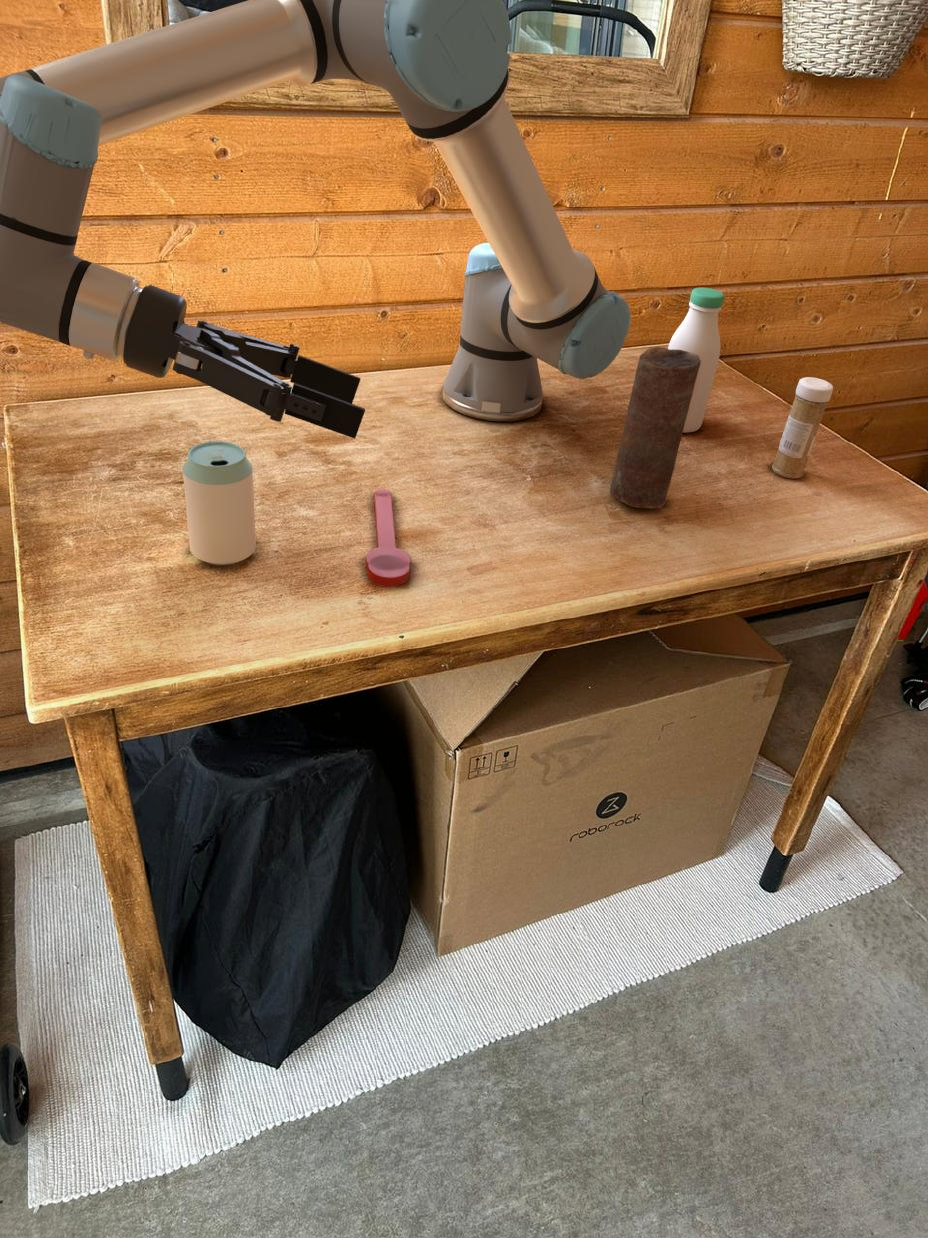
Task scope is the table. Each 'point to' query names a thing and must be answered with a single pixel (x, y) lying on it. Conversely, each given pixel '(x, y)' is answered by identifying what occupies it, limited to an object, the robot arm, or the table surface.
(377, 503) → the spoon
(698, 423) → the milk bottle
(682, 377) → the candle
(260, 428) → the table surface
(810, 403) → the spice jar
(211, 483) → the can
